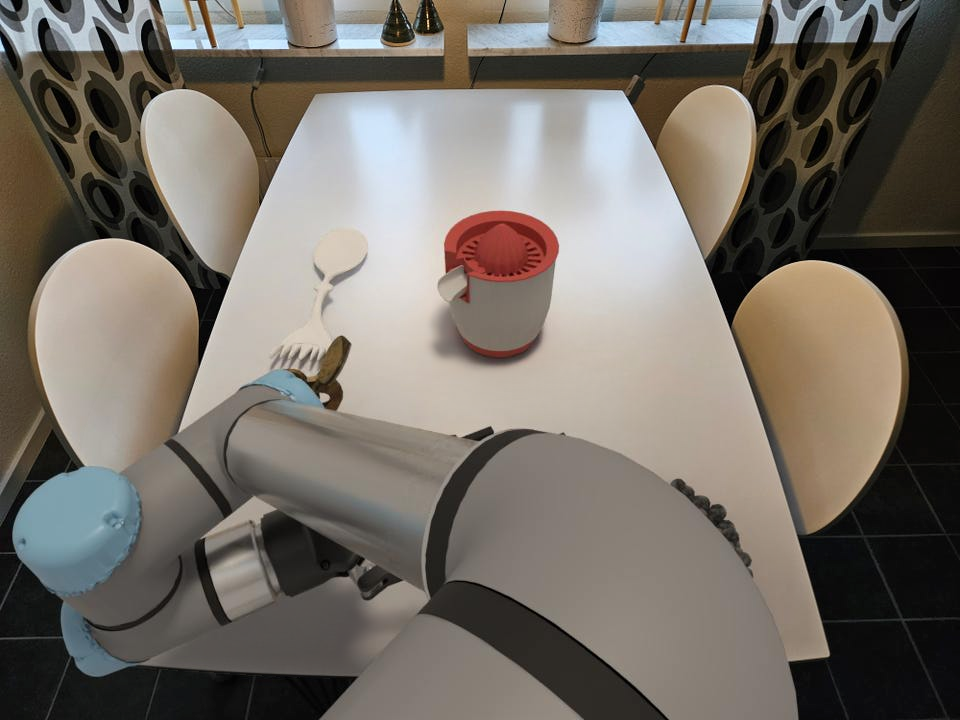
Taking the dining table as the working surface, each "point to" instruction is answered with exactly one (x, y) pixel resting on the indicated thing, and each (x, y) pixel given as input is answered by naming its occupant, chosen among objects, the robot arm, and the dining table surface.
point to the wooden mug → (329, 373)
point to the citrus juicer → (499, 280)
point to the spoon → (324, 291)
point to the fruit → (715, 518)
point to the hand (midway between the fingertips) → (507, 462)
